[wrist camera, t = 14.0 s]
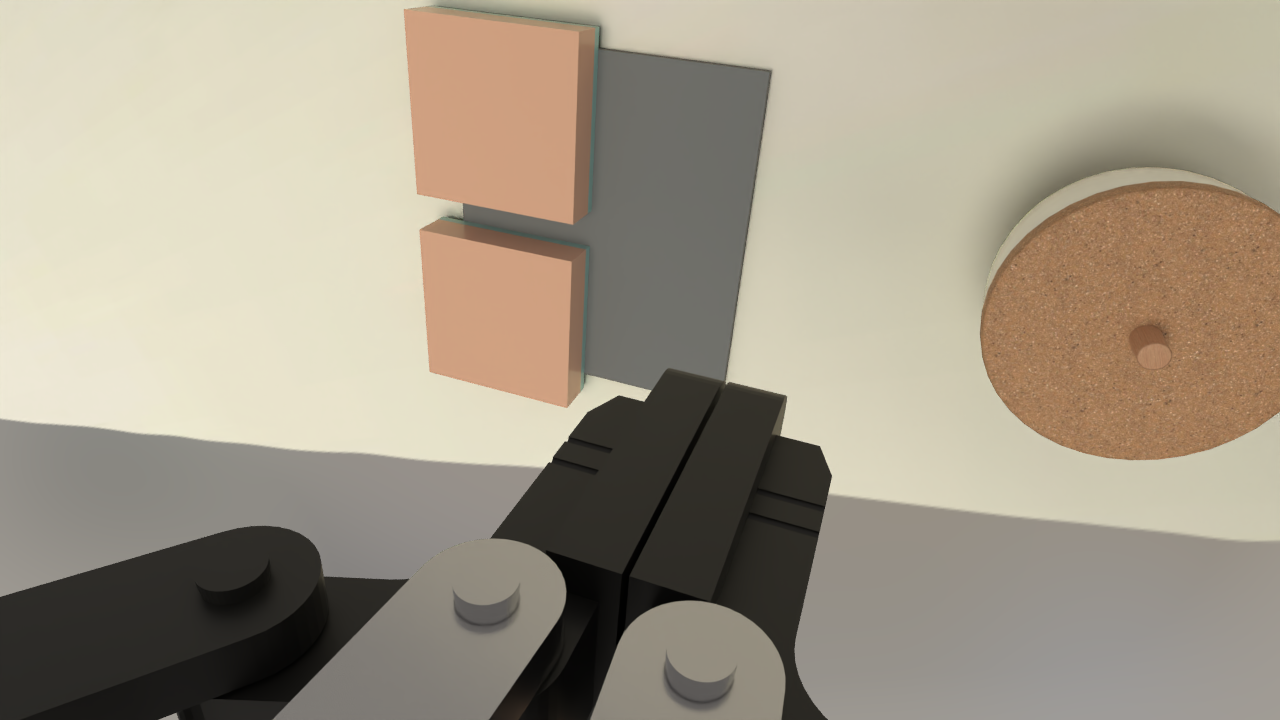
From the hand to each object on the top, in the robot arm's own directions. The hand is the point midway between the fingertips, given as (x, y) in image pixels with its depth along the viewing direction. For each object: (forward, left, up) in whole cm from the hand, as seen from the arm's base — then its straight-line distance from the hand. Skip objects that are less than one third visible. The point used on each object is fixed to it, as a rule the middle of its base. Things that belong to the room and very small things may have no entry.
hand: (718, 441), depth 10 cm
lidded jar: (-11, +6, -29) cm, 32 cm away
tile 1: (+13, +3, -27) cm, 31 cm away
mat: (+13, +9, -29) cm, 33 cm away
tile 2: (+13, +14, -27) cm, 34 cm away
